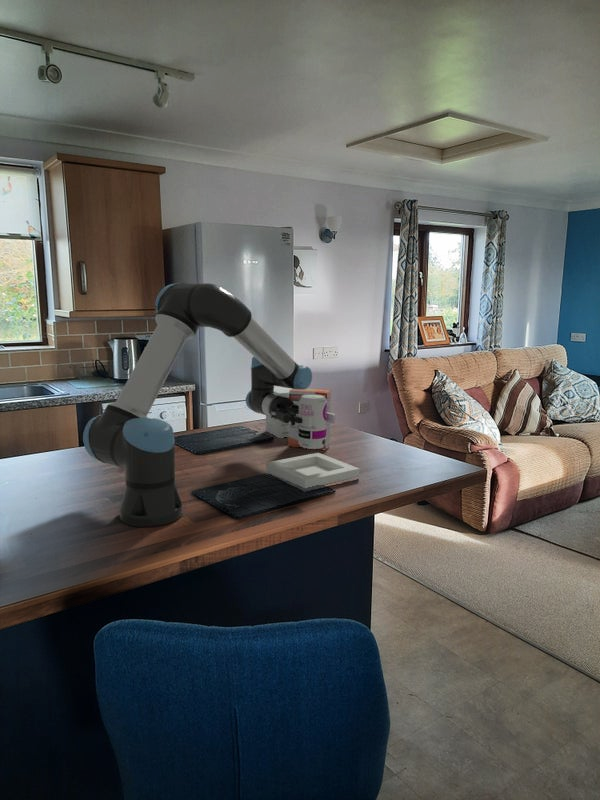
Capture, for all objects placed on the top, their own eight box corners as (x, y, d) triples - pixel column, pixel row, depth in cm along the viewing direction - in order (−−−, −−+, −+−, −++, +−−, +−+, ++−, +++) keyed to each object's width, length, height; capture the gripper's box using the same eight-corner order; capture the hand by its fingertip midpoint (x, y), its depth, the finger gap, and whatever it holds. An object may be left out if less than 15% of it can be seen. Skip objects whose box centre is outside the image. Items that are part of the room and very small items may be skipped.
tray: (304, 492, 157) (305, 480, 157) (266, 473, 173) (266, 462, 173) (359, 479, 169) (359, 468, 168) (317, 462, 185) (318, 452, 184)
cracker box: (287, 447, 203) (288, 389, 199) (292, 443, 208) (293, 387, 204) (325, 451, 199) (327, 392, 195) (329, 446, 204) (331, 389, 200)
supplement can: (326, 442, 173) (327, 394, 170) (324, 450, 165) (326, 399, 162) (299, 441, 174) (300, 393, 171) (297, 448, 166) (297, 398, 163)
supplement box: (264, 431, 226) (265, 387, 223) (294, 427, 232) (295, 385, 229) (279, 438, 214) (279, 393, 211) (309, 435, 220) (310, 390, 217)
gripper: (304, 415, 189) (349, 428, 171) (250, 422, 177) (292, 438, 159) (305, 392, 187) (350, 404, 169) (250, 399, 175) (293, 412, 157)
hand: (322, 420), depth 164 cm, fingers closed on supplement can, 8 cm apart
